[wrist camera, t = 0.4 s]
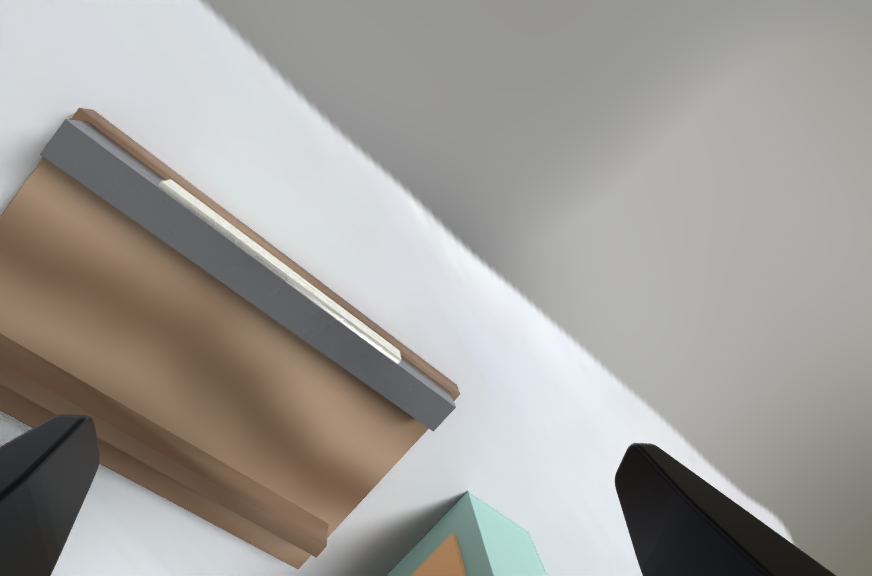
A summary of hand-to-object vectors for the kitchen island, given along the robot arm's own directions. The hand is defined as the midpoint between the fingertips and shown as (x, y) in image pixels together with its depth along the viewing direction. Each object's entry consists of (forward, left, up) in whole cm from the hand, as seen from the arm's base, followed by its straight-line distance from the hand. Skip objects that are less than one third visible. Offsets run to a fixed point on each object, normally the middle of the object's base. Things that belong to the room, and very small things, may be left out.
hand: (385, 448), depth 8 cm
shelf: (-9, +2, -15) cm, 18 cm away
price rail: (-3, +2, -14) cm, 15 cm away
